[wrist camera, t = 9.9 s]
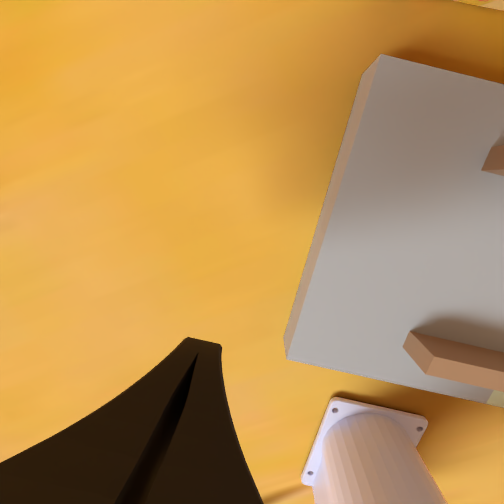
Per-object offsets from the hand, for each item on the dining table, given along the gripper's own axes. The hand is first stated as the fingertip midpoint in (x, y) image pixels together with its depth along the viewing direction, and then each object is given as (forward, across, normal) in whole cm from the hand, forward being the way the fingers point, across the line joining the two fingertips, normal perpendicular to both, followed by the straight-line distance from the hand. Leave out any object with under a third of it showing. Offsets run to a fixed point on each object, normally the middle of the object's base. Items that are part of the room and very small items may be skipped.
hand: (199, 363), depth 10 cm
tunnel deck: (+9, -20, -5) cm, 23 cm away
